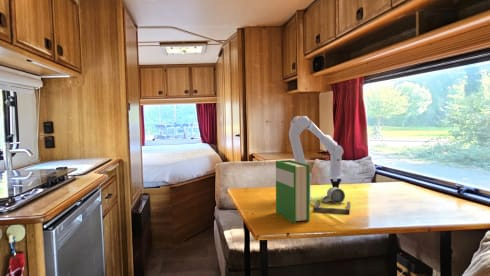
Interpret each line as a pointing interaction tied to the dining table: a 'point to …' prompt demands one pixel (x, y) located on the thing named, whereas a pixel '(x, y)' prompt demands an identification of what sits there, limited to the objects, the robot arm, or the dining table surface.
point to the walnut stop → (331, 209)
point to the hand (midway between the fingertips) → (335, 192)
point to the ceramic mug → (334, 195)
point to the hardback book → (293, 190)
